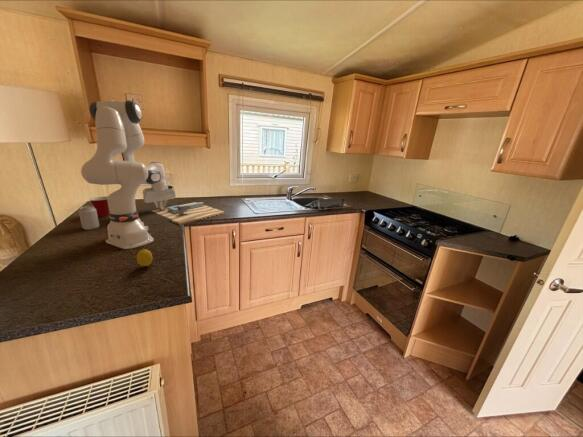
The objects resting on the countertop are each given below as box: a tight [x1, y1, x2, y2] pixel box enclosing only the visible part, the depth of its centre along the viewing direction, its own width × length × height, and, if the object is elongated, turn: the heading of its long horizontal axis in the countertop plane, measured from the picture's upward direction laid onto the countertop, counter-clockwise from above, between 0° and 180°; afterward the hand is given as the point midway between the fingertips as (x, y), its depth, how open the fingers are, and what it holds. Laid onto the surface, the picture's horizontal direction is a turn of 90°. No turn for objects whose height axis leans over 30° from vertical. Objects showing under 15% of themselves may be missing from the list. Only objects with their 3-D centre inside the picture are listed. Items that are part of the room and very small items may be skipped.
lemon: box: [136, 248, 153, 267], centre depth 99 cm, size 6×6×8 cm
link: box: [167, 201, 205, 213], centre depth 173 cm, size 24×9×2 cm, turn 145°
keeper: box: [178, 206, 190, 215], centre depth 161 cm, size 4×7×5 cm, turn 145°
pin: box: [157, 200, 165, 211], centre depth 165 cm, size 3×3×8 cm
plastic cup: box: [89, 195, 109, 218], centre depth 151 cm, size 11×11×12 cm
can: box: [78, 205, 100, 231], centre depth 132 cm, size 8×8×12 cm
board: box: [152, 201, 225, 226], centre depth 169 cm, size 34×34×2 cm
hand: (161, 206), depth 165 cm, fingers closed on pin, 3 cm apart
